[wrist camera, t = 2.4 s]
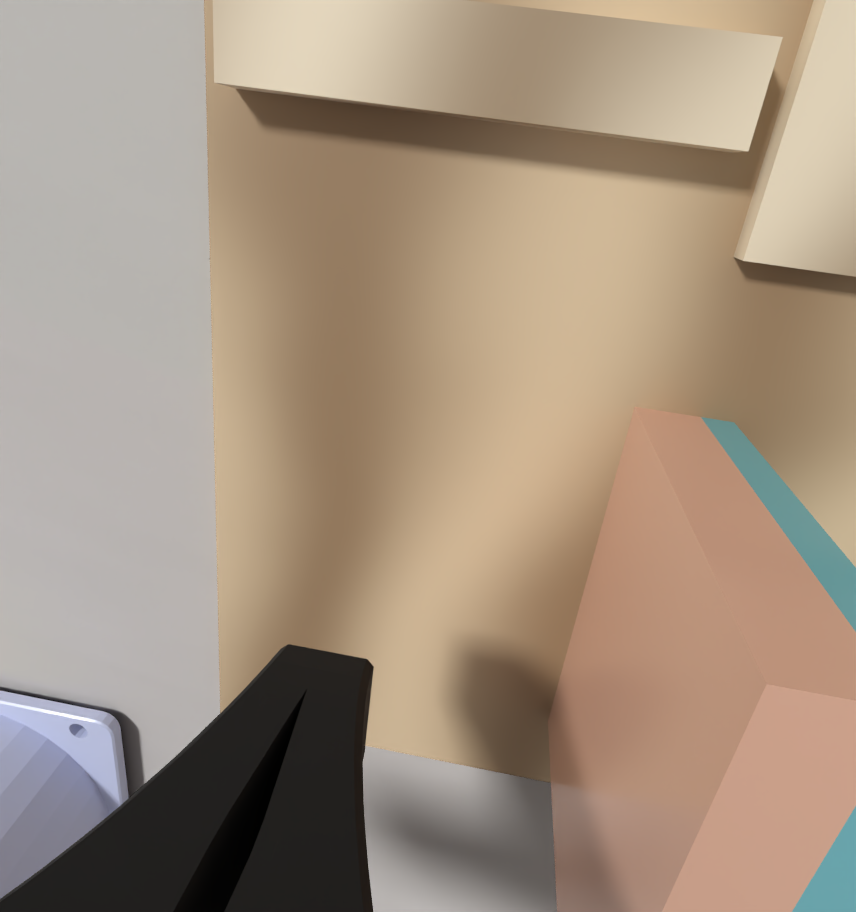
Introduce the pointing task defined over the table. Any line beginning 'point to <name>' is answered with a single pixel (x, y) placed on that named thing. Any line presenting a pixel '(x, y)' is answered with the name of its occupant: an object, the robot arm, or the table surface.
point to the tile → (707, 691)
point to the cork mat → (483, 379)
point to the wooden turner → (586, 90)
